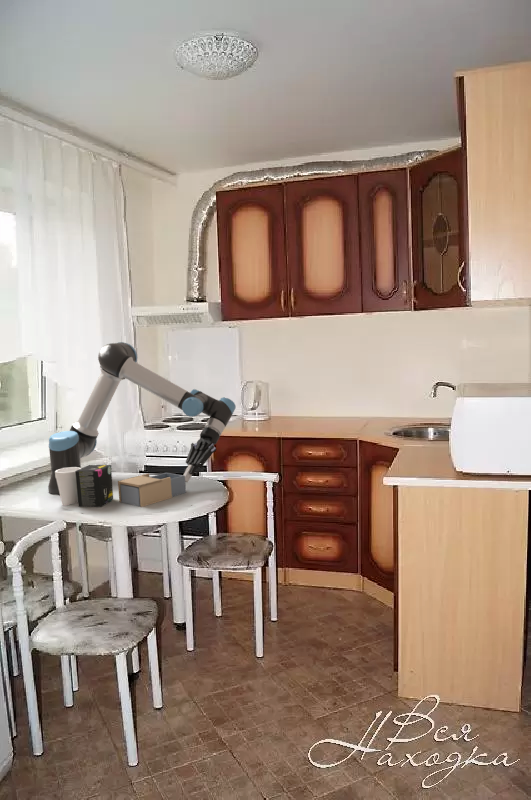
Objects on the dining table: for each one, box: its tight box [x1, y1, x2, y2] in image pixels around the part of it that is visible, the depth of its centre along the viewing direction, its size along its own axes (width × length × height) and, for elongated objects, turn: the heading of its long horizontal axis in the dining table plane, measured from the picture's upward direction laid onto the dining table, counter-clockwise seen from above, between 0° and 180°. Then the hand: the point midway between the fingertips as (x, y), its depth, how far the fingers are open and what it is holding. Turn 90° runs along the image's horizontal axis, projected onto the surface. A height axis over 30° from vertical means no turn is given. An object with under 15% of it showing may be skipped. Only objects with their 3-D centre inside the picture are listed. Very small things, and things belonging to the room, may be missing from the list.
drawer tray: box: [120, 472, 187, 507], centre depth 241 cm, size 11×22×7 cm, turn 139°
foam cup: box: [55, 467, 82, 507], centre depth 242 cm, size 10×9×13 cm
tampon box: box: [75, 464, 114, 508], centre depth 237 cm, size 11×9×15 cm
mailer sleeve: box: [117, 473, 173, 508], centre depth 238 cm, size 13×14×9 cm
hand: (184, 480), depth 252 cm, fingers closed
